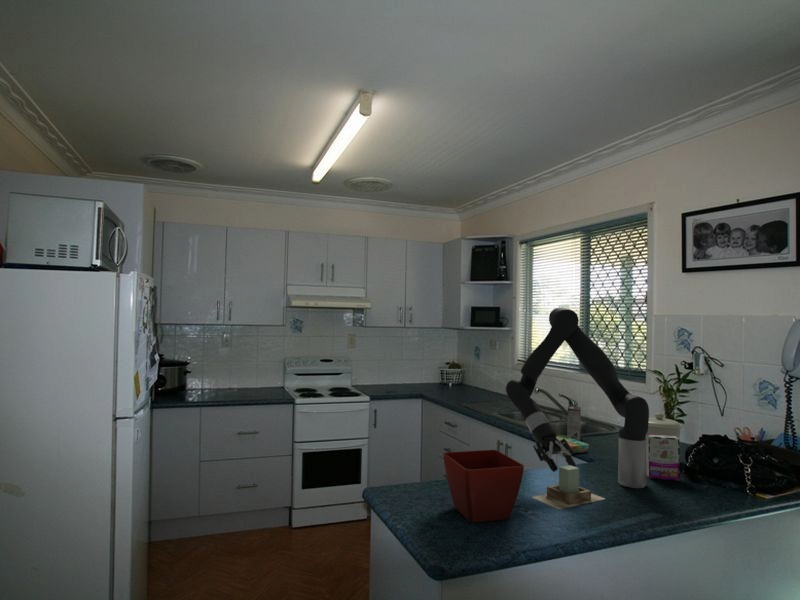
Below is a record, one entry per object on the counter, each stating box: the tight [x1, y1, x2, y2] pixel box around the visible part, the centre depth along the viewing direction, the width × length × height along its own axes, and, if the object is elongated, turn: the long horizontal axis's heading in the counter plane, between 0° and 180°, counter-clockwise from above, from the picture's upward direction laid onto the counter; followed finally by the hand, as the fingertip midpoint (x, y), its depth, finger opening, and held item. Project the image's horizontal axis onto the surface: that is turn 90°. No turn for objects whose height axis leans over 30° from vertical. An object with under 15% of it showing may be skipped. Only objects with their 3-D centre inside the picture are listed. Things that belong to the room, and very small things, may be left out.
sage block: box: [558, 464, 580, 494], centre depth 167 cm, size 5×4×10 cm
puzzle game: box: [556, 435, 590, 454], centre depth 241 cm, size 12×5×20 cm
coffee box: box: [566, 405, 582, 442], centre depth 262 cm, size 9×6×16 cm
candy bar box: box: [646, 434, 681, 482], centre depth 197 cm, size 11×5×16 cm, turn 76°
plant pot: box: [442, 449, 525, 524], centre depth 155 cm, size 19×19×17 cm
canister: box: [647, 412, 683, 439], centre depth 224 cm, size 18×18×21 cm
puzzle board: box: [531, 484, 606, 510], centre depth 167 cm, size 22×12×4 cm, turn 120°
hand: (564, 469), depth 169 cm, fingers open, 8 cm apart
